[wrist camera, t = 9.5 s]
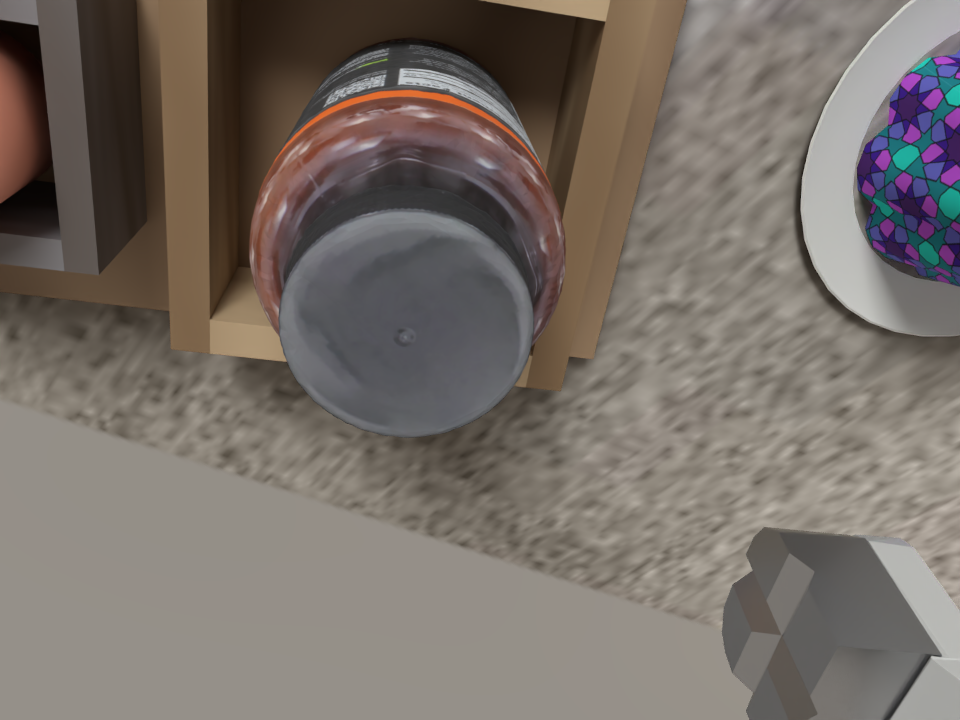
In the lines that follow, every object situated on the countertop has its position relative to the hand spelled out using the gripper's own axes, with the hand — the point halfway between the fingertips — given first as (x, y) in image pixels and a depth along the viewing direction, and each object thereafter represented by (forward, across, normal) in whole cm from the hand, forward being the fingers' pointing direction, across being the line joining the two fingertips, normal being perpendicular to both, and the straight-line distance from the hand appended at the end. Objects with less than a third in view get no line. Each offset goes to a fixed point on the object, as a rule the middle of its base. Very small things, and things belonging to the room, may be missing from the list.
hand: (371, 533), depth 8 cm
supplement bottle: (+16, 0, 0) cm, 16 cm away
